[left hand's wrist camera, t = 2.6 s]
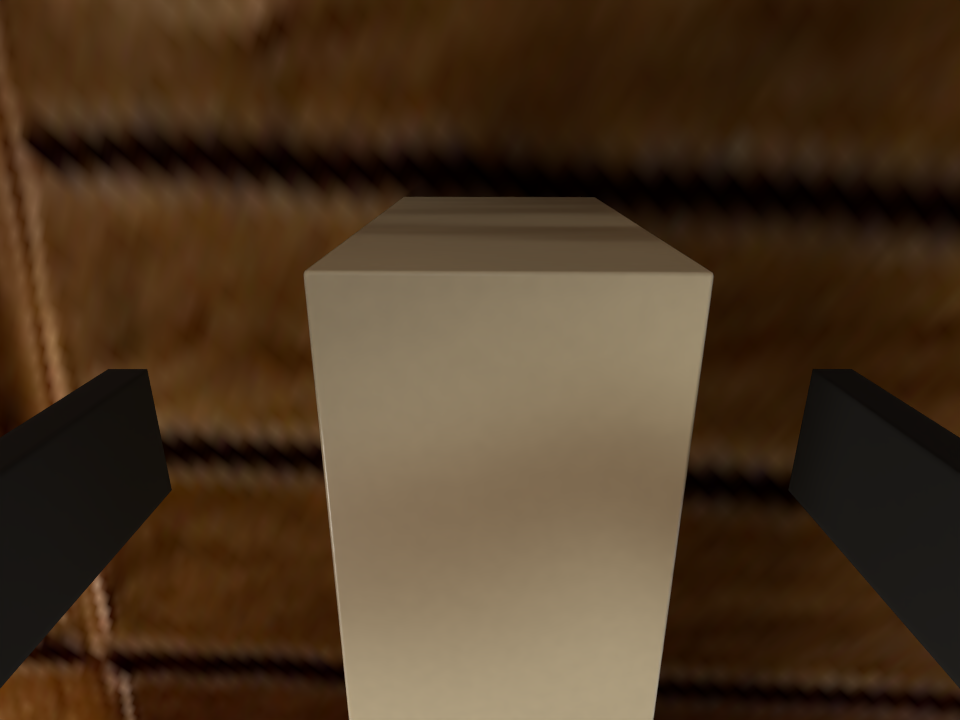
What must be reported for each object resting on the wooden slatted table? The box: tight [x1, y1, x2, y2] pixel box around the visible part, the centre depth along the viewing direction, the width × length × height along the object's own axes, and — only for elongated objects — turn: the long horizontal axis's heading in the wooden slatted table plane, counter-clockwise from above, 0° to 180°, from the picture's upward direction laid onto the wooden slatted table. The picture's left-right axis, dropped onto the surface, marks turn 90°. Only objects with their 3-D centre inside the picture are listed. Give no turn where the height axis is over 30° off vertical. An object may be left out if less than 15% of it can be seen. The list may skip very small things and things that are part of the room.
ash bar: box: [304, 197, 714, 720], centre depth 16 cm, size 24×5×9 cm, turn 0°
